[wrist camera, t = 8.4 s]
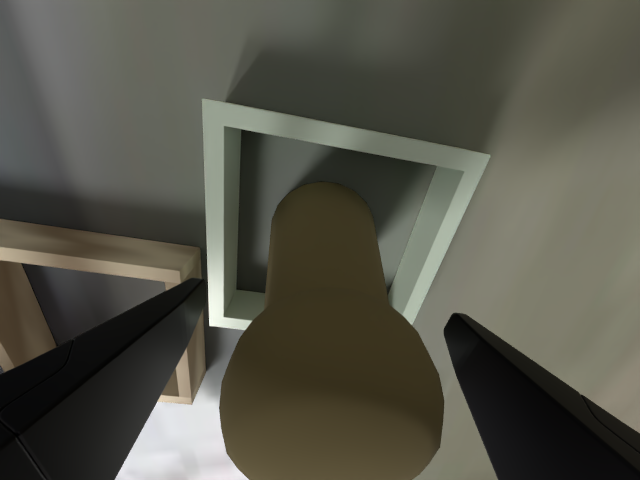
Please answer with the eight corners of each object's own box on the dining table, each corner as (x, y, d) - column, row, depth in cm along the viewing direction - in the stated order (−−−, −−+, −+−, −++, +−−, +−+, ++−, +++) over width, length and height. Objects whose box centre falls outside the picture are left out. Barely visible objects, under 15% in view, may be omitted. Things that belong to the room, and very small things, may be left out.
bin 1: (50, 356, 19) (14, 388, 17) (-14, 216, 14) (-78, 236, 12) (205, 372, 20) (192, 404, 18) (200, 247, 15) (179, 271, 13)
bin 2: (223, 297, 17) (209, 325, 14) (224, 101, 11) (202, 98, 9) (390, 318, 18) (401, 348, 15) (460, 147, 12) (491, 155, 10)
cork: (264, 183, 13) (108, 384, 3) (378, 179, 13) (559, 370, 3) (276, 277, 16) (211, 540, 6) (371, 274, 16) (459, 533, 6)
